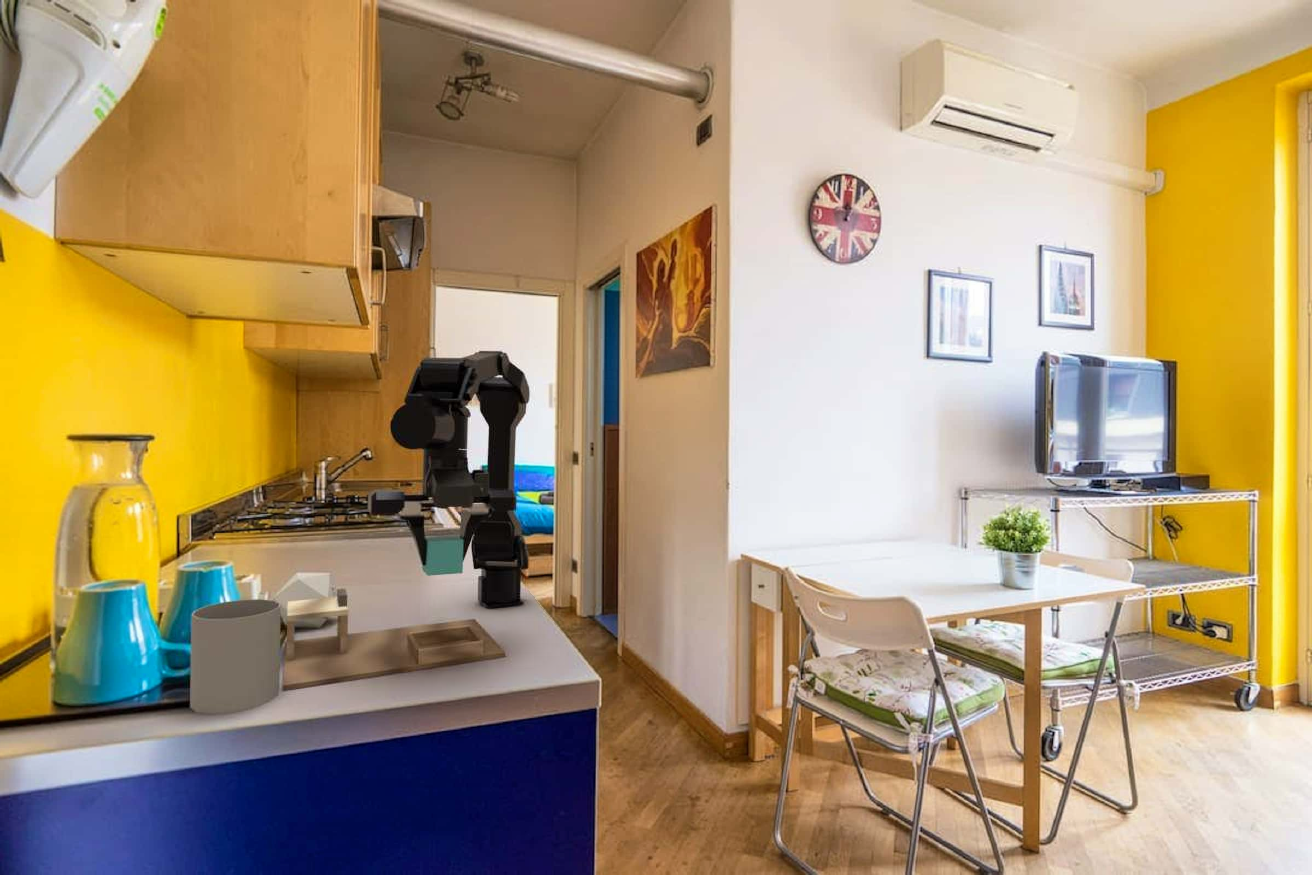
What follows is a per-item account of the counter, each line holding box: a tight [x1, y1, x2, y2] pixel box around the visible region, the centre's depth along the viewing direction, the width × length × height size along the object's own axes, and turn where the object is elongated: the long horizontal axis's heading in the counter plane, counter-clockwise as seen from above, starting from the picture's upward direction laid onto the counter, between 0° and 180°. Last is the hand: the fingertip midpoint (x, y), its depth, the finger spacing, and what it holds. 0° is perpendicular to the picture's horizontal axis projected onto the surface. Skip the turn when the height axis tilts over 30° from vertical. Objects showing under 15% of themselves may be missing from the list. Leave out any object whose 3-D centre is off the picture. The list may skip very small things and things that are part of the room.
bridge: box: [286, 588, 349, 660], centre depth 88 cm, size 7×8×7 cm
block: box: [421, 535, 464, 577], centre depth 89 cm, size 4×4×4 cm
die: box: [272, 572, 338, 628], centre depth 100 cm, size 8×9×10 cm
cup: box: [189, 598, 281, 715], centre depth 73 cm, size 8×8×10 cm
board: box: [282, 618, 506, 692], centre depth 89 cm, size 26×17×2 cm, turn 119°
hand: (442, 563), depth 89 cm, fingers closed on block, 4 cm apart
